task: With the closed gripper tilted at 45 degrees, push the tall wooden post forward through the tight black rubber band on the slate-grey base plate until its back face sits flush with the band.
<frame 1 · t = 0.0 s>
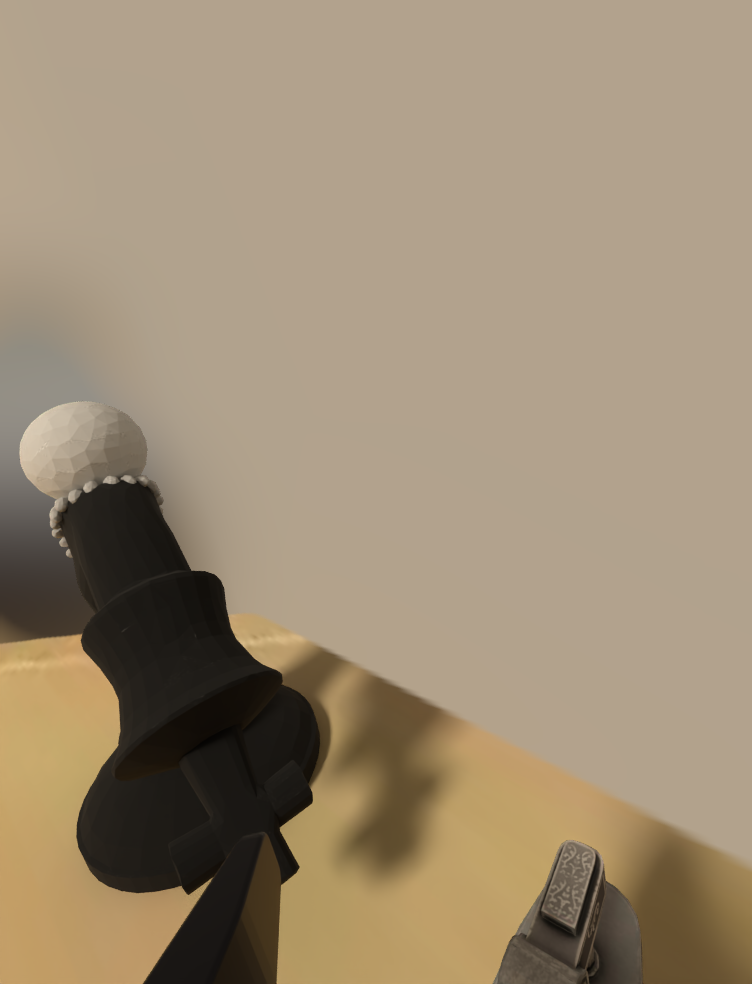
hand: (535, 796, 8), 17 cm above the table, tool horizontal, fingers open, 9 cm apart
sculpture: (230, 815, 29), on the table
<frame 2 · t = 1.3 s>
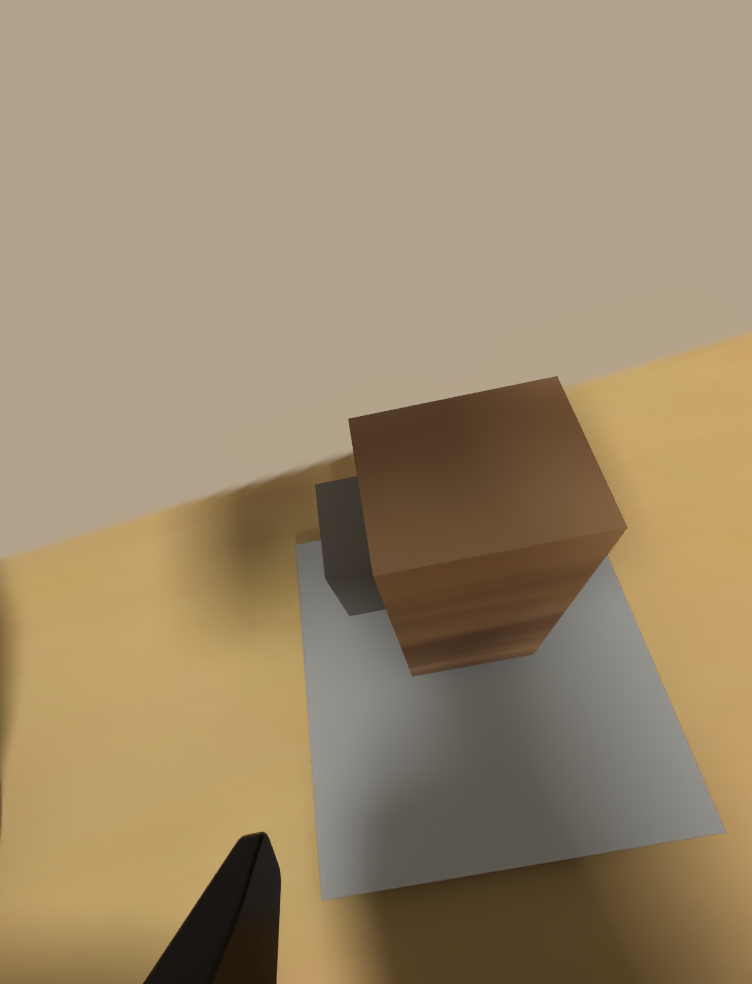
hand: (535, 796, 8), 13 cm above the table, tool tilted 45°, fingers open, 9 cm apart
band housing: (470, 666, 21), on the table
tall wooden post: (465, 567, 16), point 7 cm above the table, slide at 0.0 cm
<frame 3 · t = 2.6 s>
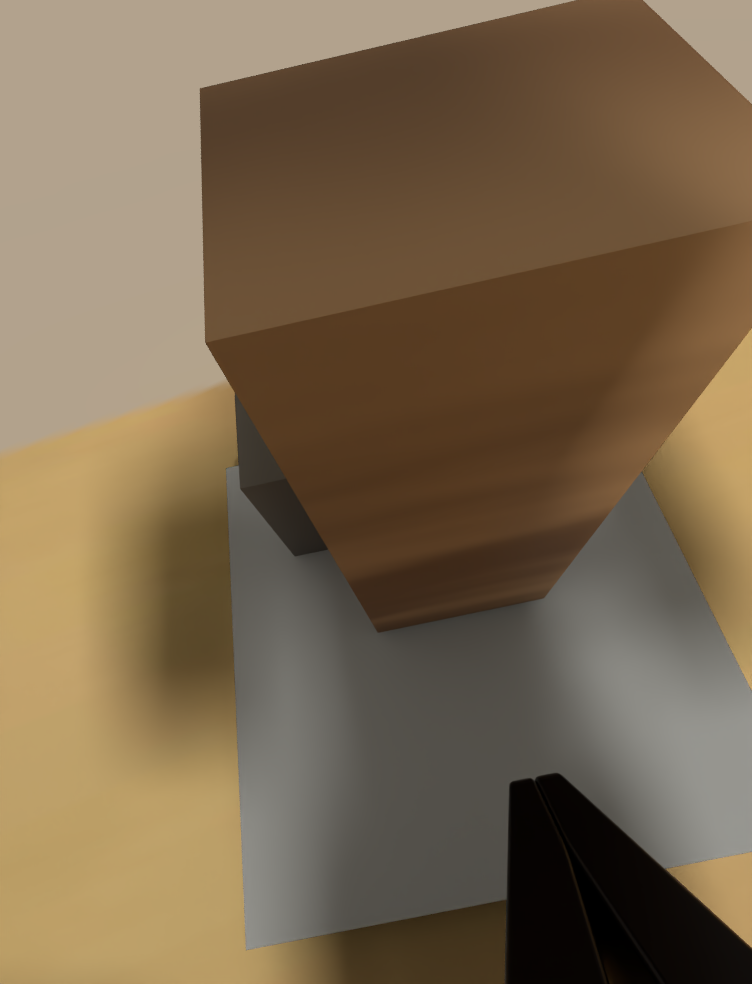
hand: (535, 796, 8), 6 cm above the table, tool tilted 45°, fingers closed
band housing: (457, 618, 16), on the table
tall wooden post: (447, 455, 10), point 7 cm above the table, slide at 0.0 cm
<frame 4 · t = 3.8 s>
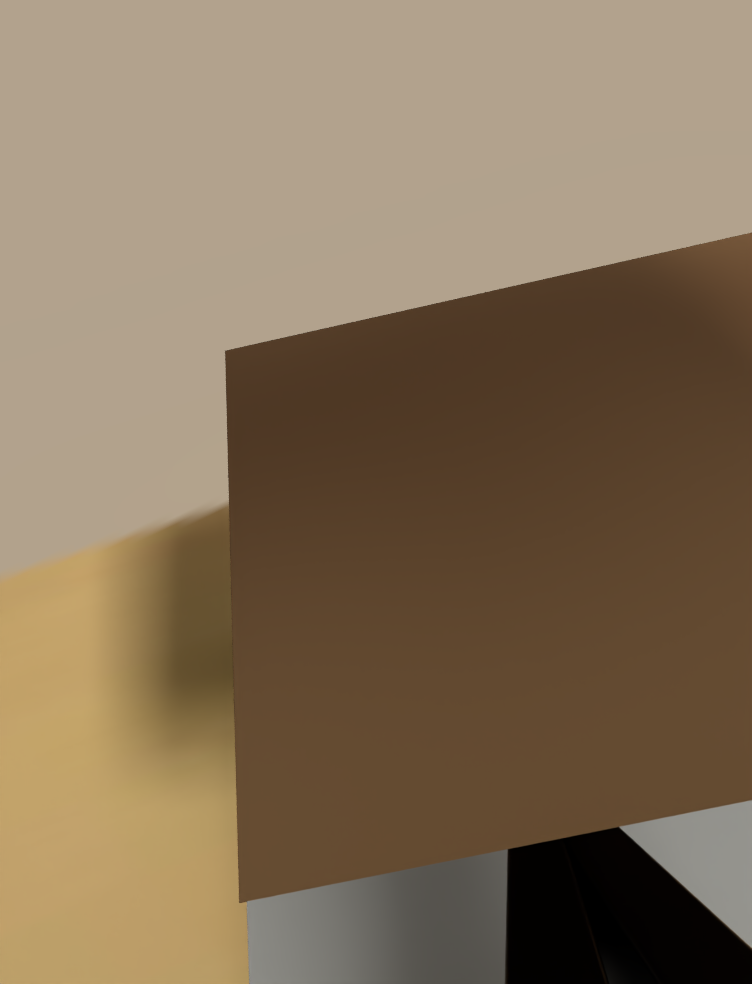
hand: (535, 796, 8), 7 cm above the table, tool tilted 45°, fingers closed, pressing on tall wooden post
band housing: (505, 814, 13), on the table
tall wooden post: (497, 649, 9), point 7 cm above the table, slide at 1.2 cm, touching gripper
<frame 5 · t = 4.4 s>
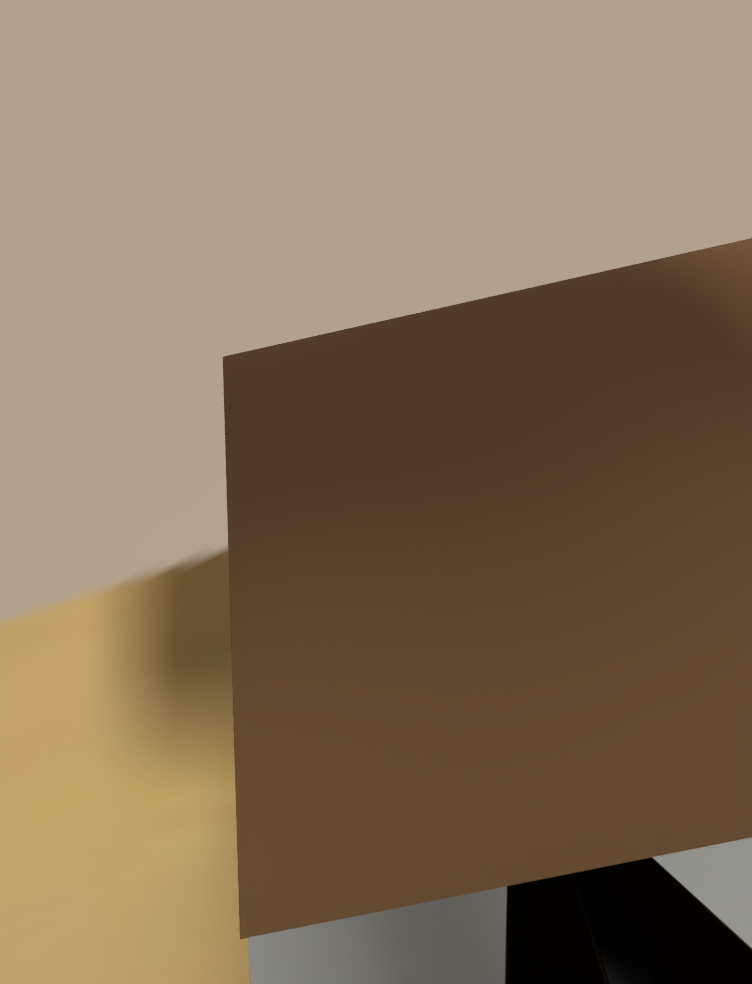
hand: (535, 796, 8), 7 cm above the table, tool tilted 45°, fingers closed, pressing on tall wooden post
band housing: (529, 908, 12), on the table
tall wooden post: (498, 652, 9), point 7 cm above the table, slide at 3.3 cm, touching gripper
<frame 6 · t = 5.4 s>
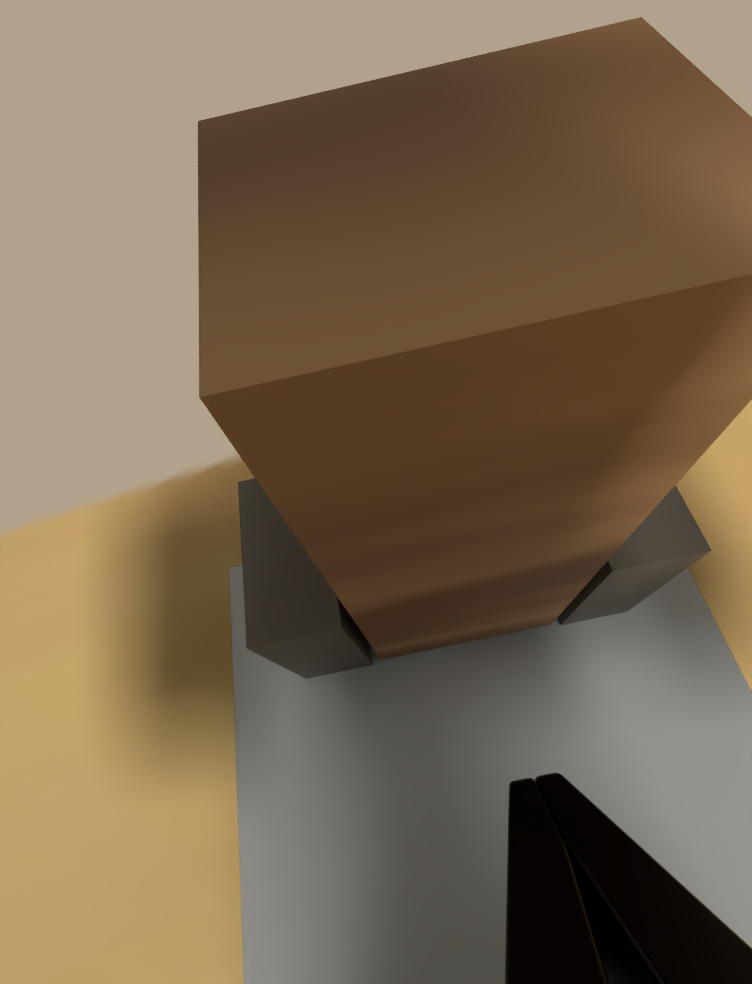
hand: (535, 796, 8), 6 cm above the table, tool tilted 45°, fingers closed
band housing: (490, 753, 14), on the table
tall wooden post: (452, 483, 10), point 7 cm above the table, slide at 3.0 cm
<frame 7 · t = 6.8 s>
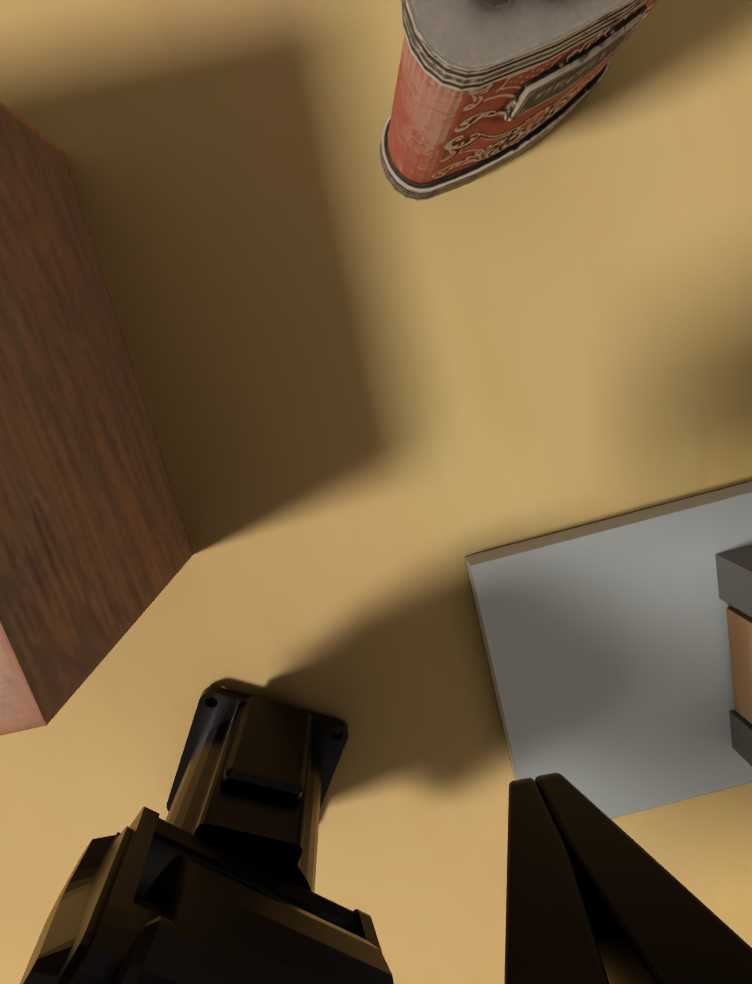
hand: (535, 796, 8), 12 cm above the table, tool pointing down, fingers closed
band housing: (645, 659, 22), on the table
lighter: (487, 113, 17), on the table
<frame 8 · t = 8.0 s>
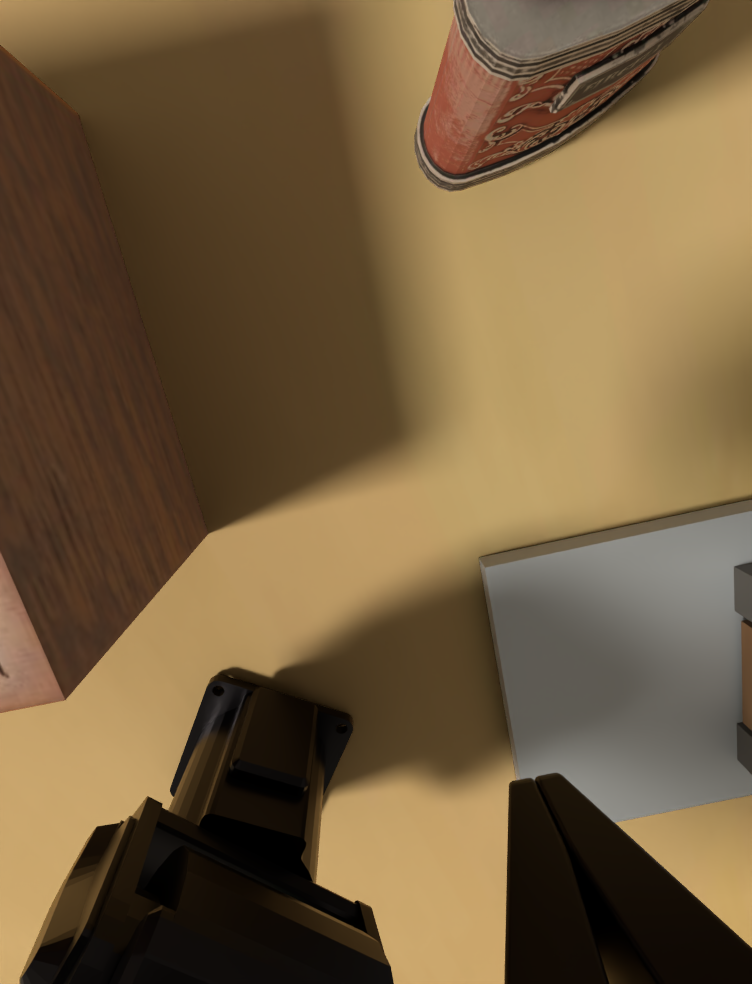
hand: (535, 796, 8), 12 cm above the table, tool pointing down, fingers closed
band housing: (654, 668, 22), on the table
lighter: (527, 103, 16), on the table
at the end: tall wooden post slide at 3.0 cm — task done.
